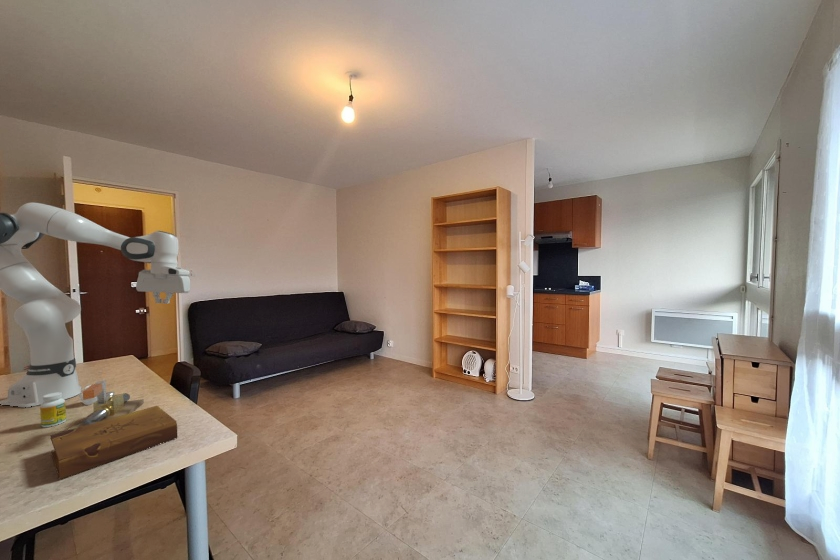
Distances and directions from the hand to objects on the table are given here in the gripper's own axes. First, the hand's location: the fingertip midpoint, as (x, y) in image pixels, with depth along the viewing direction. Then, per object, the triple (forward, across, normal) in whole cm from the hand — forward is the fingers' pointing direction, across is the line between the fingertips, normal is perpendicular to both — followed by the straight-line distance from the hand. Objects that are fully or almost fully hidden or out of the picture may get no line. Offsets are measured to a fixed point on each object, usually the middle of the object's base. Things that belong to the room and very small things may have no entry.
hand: (162, 303), depth 134 cm
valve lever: (+30, +8, -32) cm, 45 cm away
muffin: (+37, -14, -13) cm, 42 cm away
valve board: (+37, +4, -25) cm, 45 cm away
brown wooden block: (+38, +24, -43) cm, 62 cm away
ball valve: (+37, +4, -25) cm, 45 cm away
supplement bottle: (+38, -9, -29) cm, 49 cm away
